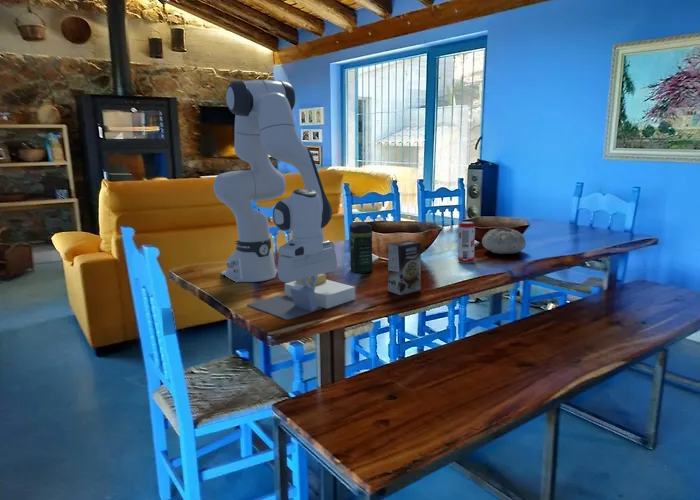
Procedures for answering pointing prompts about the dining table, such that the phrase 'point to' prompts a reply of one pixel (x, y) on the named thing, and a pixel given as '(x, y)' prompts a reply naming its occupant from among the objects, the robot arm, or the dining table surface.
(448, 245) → the dining table surface
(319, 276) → the olive yellow block
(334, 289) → the block
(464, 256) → the beer can
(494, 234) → the grey rounded lump
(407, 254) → the coffee box
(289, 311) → the mat
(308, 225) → the robot arm
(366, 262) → the coffee jar
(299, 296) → the blue-grey rectangular block
